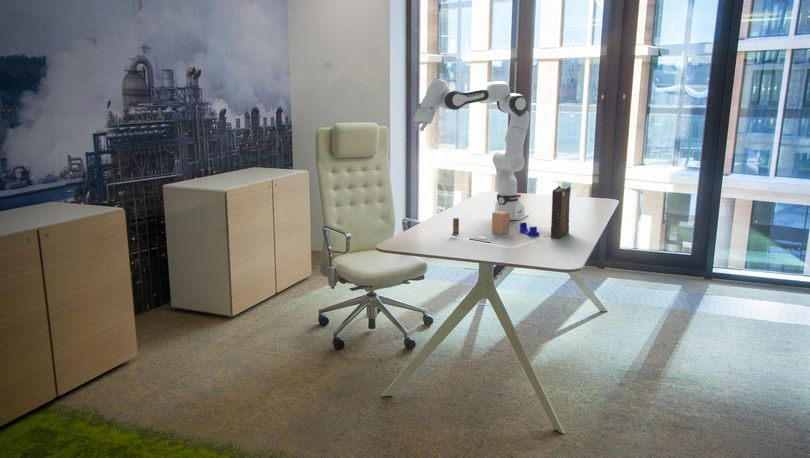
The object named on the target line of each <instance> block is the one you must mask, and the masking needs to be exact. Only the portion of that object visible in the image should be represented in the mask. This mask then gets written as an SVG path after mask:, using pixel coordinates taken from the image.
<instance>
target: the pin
mask: <svg viewBox="0 0 810 458" xmlns="http://www.w3.org/2000/svg"><path fill="white" fill-rule="evenodd" d="M459 233H460V218H459V217H454V218H453V219H452V234H453V235H452V236H453V237H455V235H459Z"/></svg>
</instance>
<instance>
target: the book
mask: <svg viewBox="0 0 810 458" xmlns="http://www.w3.org/2000/svg"><path fill="white" fill-rule="evenodd" d="M551 195H552V197H551V202H552V203H551V204H552V205H551V220H550V221H551V223H550V224H551V226H550V238H555V239H561V238H563V237H564V236H566V235H568V234H569V233H570V225H569V223H570V199H571V196H570V195H571V186H568V187H567V188H564V187H561V186H560V185H558V186H557V187H556V188H555V189H552V192H551Z"/></svg>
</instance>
